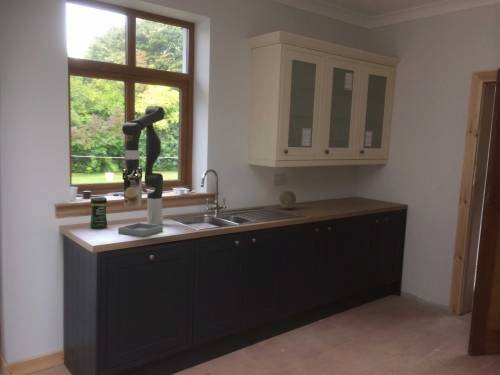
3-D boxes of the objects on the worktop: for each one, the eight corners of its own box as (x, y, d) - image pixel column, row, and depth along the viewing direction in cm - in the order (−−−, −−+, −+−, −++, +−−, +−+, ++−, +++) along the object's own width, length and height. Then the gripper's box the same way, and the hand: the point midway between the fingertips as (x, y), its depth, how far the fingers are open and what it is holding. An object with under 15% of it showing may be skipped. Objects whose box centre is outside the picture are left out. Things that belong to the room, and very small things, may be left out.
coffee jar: (92, 229, 258) (91, 198, 257) (89, 226, 265) (88, 196, 263) (108, 227, 264) (108, 197, 262) (105, 225, 270) (105, 196, 268)
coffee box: (123, 205, 246) (123, 178, 244) (126, 203, 252) (126, 176, 250) (139, 206, 246) (139, 178, 244) (142, 204, 252) (142, 177, 250)
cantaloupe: (298, 210, 354) (299, 192, 352) (281, 210, 351) (282, 192, 349) (292, 207, 367) (293, 190, 366) (277, 207, 364) (277, 190, 363)
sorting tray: (138, 228, 265) (138, 222, 264) (162, 231, 257) (162, 225, 257) (118, 233, 248) (118, 227, 248) (143, 237, 241) (143, 231, 241)
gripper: (135, 157, 254) (135, 184, 256) (118, 158, 241) (119, 187, 243) (145, 157, 251) (145, 185, 253) (129, 159, 238) (129, 188, 240)
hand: (132, 186), depth 248 cm, fingers closed on coffee box, 8 cm apart
